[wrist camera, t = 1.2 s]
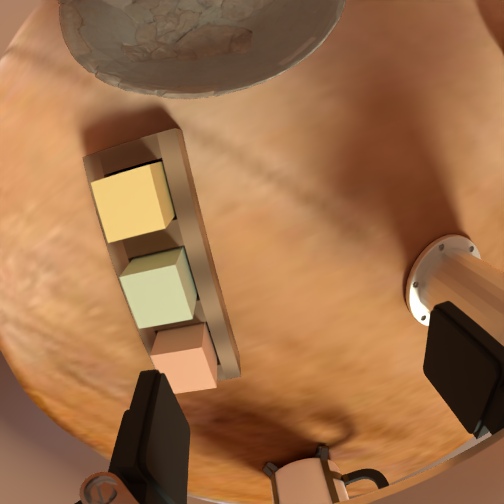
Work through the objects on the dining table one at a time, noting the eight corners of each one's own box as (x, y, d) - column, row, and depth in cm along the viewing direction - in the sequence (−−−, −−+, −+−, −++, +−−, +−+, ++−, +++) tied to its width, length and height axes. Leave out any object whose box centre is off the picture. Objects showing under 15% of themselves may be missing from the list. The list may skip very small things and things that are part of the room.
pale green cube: (197, 293, 31) (192, 319, 27) (150, 302, 31) (138, 328, 27) (183, 245, 30) (175, 264, 25) (134, 257, 30) (119, 277, 25)
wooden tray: (239, 355, 38) (241, 376, 34) (168, 367, 38) (164, 388, 34) (181, 130, 29) (175, 128, 25) (98, 155, 29) (82, 157, 25)
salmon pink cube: (217, 357, 34) (216, 387, 29) (174, 364, 34) (168, 394, 29) (204, 319, 32) (202, 347, 28) (159, 327, 32) (150, 355, 28)
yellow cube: (175, 214, 29) (165, 228, 24) (125, 227, 29) (107, 243, 24) (162, 161, 27) (149, 164, 22) (111, 176, 27) (90, 182, 22)
